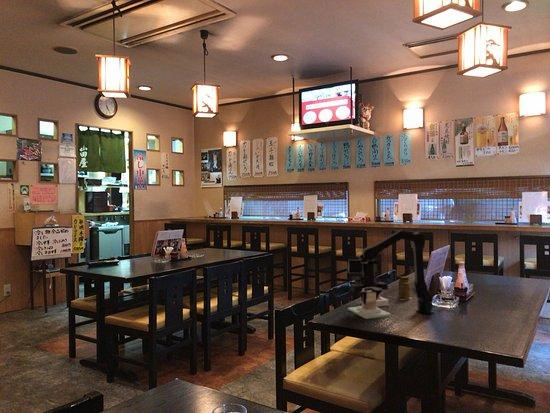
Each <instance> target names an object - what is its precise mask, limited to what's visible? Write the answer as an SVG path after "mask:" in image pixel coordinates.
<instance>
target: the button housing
mask: <svg viewBox="0 0 550 413" xmlns="http://www.w3.org/2000/svg"><path fill="white" fill-rule="evenodd" d="M389 304H390V302H389V299H388V298H385V297H382V296H380V300H376V307H378V308H380V307H386V306H387V307H388V306H389Z"/></svg>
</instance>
